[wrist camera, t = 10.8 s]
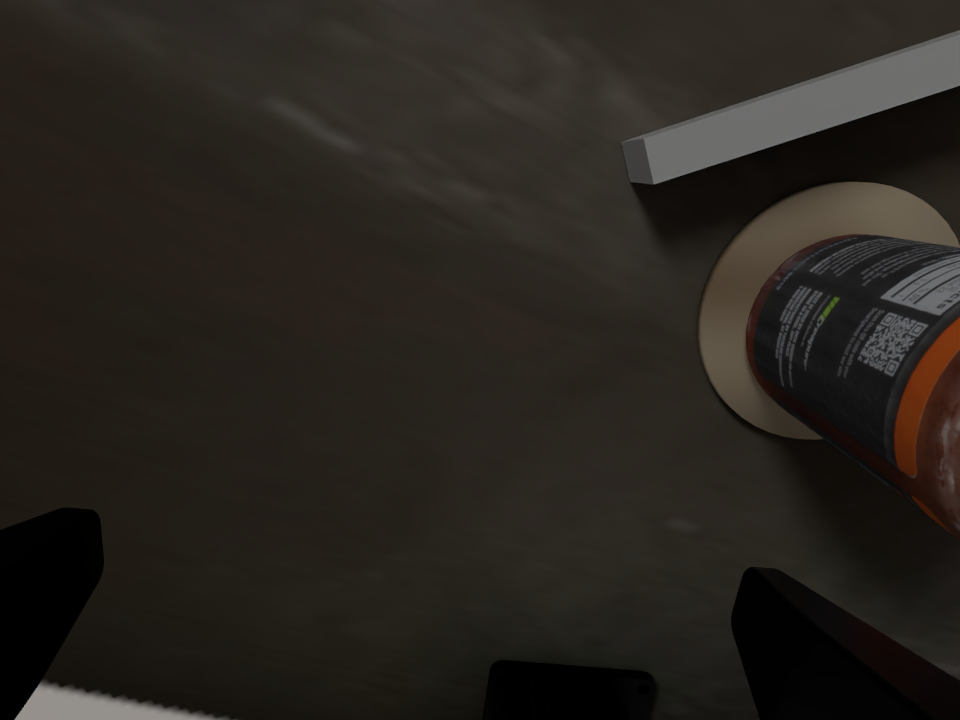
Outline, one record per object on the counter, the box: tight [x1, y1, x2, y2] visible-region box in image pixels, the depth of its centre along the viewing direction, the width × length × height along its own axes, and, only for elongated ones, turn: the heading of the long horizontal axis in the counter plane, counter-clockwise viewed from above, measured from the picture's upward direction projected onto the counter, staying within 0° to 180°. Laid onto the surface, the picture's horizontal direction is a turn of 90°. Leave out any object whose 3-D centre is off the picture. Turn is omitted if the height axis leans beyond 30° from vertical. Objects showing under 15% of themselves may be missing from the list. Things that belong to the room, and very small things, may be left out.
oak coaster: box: [697, 182, 960, 440], centre depth 20 cm, size 8×8×1 cm
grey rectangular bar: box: [621, 30, 960, 184], centre depth 17 cm, size 10×1×2 cm, turn 108°
